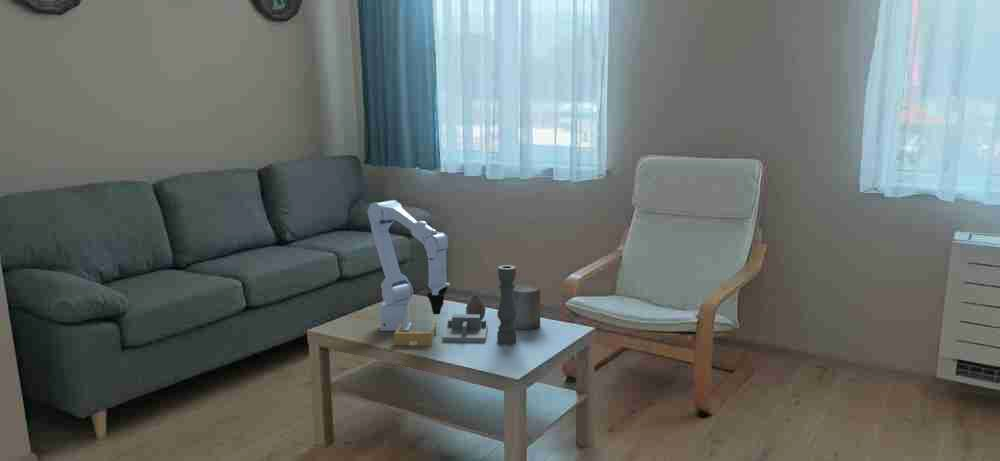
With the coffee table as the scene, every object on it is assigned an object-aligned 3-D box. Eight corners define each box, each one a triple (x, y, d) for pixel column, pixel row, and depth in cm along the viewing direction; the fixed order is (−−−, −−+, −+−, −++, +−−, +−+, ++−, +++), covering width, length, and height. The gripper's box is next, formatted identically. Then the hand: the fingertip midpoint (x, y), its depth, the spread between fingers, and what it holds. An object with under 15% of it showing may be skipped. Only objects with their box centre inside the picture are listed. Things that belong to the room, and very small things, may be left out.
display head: (485, 342, 247) (485, 324, 246) (442, 341, 248) (442, 324, 246) (487, 329, 260) (487, 312, 259) (447, 329, 260) (446, 312, 259)
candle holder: (502, 346, 243) (502, 270, 239) (494, 340, 249) (493, 266, 244) (519, 343, 246) (519, 268, 241) (510, 337, 252) (510, 264, 247)
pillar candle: (539, 321, 269) (538, 280, 266) (541, 329, 259) (541, 287, 256) (511, 321, 268) (511, 280, 266) (512, 330, 259) (512, 288, 256)
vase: (486, 317, 274) (486, 293, 272) (484, 323, 267) (484, 299, 265) (467, 316, 274) (467, 293, 273) (464, 322, 268) (464, 298, 266)
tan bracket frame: (431, 345, 244) (431, 333, 243) (394, 345, 244) (394, 333, 244) (436, 334, 255) (436, 322, 254) (400, 333, 256) (400, 322, 255)
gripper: (447, 276, 239) (447, 317, 242) (451, 265, 253) (452, 304, 256) (425, 275, 239) (425, 317, 242) (430, 265, 253) (431, 304, 256)
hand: (437, 310), depth 249 cm, fingers open, 7 cm apart
